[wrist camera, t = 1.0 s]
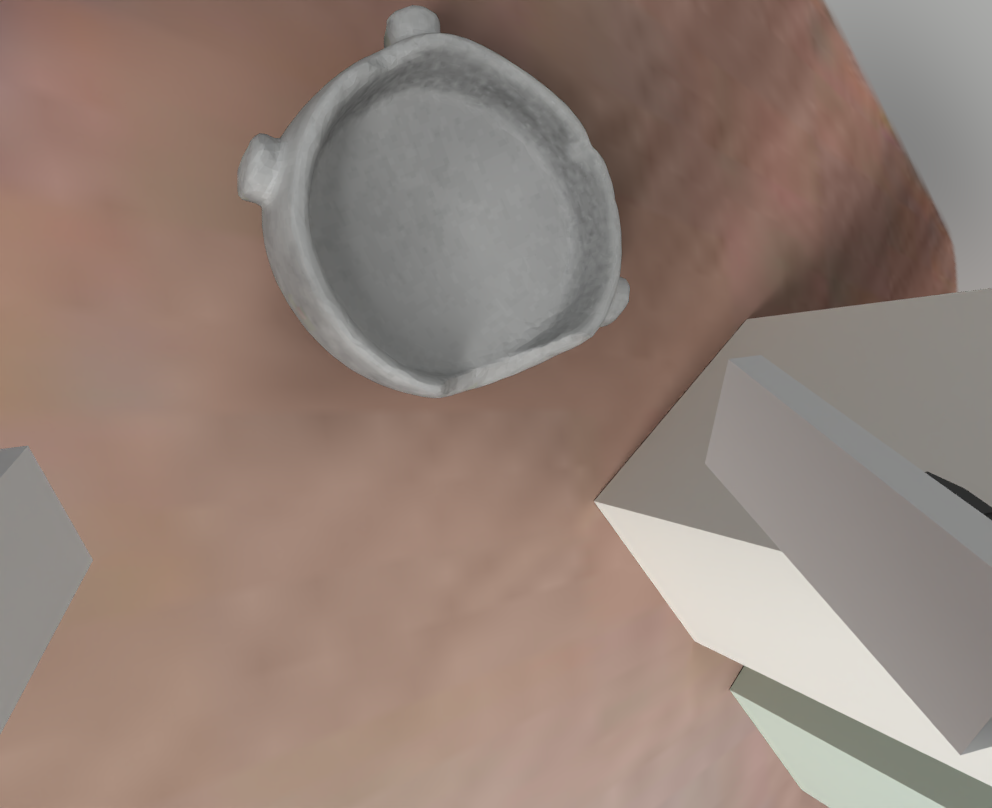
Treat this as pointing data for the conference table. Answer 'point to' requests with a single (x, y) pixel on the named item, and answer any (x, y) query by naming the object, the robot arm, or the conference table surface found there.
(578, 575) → the conference table surface
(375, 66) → the dish
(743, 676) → the low stand
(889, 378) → the off-white rectangular block
